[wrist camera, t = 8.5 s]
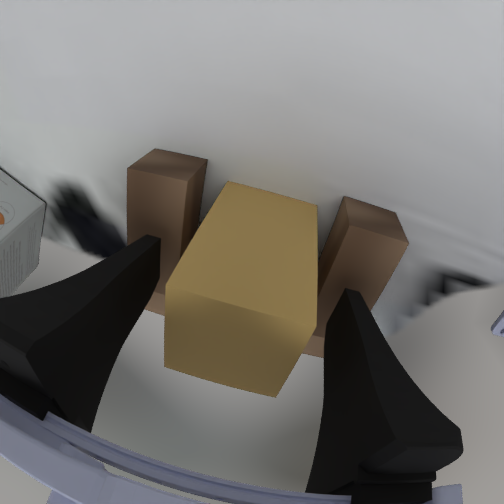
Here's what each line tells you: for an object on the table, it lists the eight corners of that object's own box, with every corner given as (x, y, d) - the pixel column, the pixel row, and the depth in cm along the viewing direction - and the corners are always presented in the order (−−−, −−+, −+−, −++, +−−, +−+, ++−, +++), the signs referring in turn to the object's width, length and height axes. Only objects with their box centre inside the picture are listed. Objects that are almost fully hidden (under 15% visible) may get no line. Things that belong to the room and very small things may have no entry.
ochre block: (317, 205, 14) (316, 326, 8) (291, 274, 16) (275, 397, 10) (227, 180, 14) (165, 284, 8) (214, 253, 16) (164, 366, 10)
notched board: (395, 212, 13) (409, 243, 11) (337, 325, 17) (337, 360, 15) (154, 148, 13) (127, 168, 11) (149, 275, 18) (131, 304, 16)
